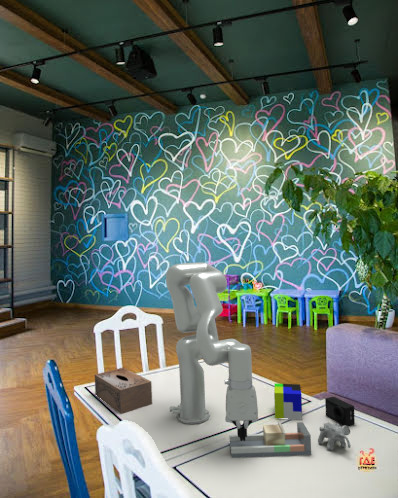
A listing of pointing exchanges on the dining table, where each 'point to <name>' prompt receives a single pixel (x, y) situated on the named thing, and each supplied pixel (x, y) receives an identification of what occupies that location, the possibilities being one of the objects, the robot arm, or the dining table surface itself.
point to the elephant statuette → (334, 435)
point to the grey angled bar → (304, 436)
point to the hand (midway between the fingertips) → (242, 438)
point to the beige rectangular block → (274, 434)
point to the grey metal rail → (257, 447)
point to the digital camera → (340, 411)
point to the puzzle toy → (288, 401)
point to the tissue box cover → (123, 390)
